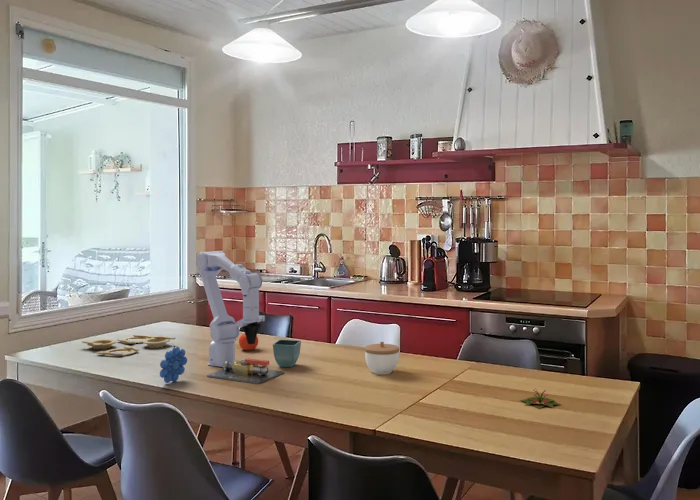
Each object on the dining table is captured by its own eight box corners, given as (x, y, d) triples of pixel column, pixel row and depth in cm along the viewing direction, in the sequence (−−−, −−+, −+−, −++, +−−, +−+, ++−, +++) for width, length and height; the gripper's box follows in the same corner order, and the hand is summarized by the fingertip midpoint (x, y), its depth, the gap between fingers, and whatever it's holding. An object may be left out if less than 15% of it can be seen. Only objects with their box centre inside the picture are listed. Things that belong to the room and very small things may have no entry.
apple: (262, 349, 265) (262, 330, 265) (249, 352, 258) (249, 333, 258) (248, 347, 269) (247, 328, 269) (235, 350, 263) (234, 331, 262)
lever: (238, 363, 224) (238, 358, 224) (244, 362, 226) (244, 356, 226) (264, 367, 218) (264, 362, 218) (270, 365, 221) (270, 360, 221)
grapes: (178, 376, 222) (177, 342, 221) (191, 378, 218) (191, 344, 217) (151, 383, 212) (151, 348, 211) (165, 386, 208) (164, 351, 208)
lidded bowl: (404, 369, 230) (404, 340, 229) (391, 378, 219) (392, 346, 218) (372, 366, 235) (372, 337, 235) (359, 374, 224) (359, 343, 223)
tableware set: (142, 337, 292) (142, 328, 292) (183, 345, 275) (183, 336, 275) (71, 351, 264) (71, 341, 264) (112, 360, 247) (112, 350, 247)
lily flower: (537, 412, 182) (538, 397, 182) (511, 401, 193) (511, 387, 193) (569, 407, 187) (569, 392, 187) (541, 396, 198) (541, 382, 198)
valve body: (207, 376, 221) (206, 364, 221) (234, 366, 235) (234, 355, 235) (259, 384, 211) (258, 371, 211) (284, 373, 226) (284, 361, 225)
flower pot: (295, 369, 232) (294, 345, 231) (272, 367, 233) (272, 344, 233) (301, 363, 240) (301, 340, 240) (279, 362, 242) (279, 339, 241)
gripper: (247, 310, 218) (248, 348, 219) (271, 304, 231) (271, 341, 232) (231, 308, 221) (232, 346, 222) (255, 303, 234) (256, 339, 235)
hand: (251, 343), depth 227 cm, fingers closed
